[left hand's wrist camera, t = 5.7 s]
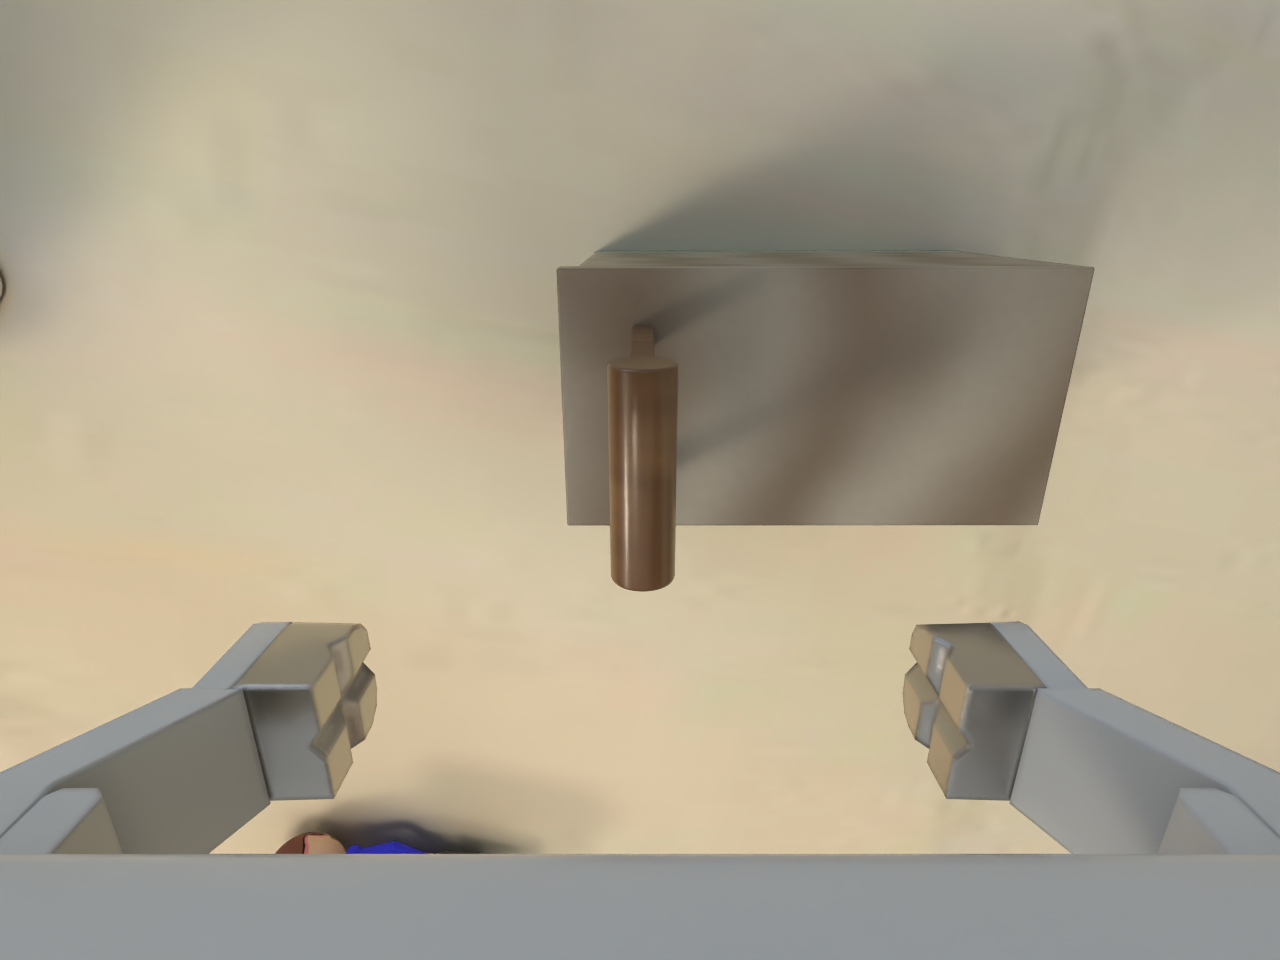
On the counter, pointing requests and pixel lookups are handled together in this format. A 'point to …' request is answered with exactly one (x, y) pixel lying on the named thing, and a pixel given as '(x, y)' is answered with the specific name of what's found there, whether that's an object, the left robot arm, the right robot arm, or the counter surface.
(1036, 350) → the lid
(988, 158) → the counter surface
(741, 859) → the left robot arm
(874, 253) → the chest
